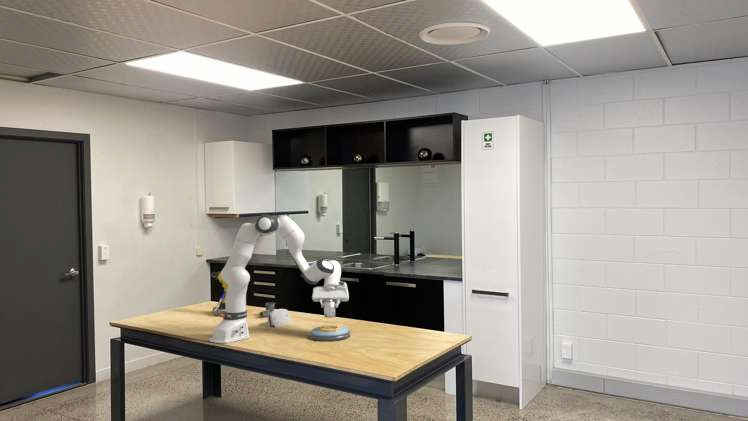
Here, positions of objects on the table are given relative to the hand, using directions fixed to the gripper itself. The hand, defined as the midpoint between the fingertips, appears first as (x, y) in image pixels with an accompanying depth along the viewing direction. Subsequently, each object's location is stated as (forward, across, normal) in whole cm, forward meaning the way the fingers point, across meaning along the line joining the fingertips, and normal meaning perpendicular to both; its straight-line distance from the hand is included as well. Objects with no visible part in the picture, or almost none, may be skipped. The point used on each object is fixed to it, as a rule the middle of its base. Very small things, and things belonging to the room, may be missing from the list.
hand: (329, 307), depth 299 cm
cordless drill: (-33, -81, +56) cm, 104 cm away
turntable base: (+11, 0, +12) cm, 16 cm away
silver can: (+3, 0, +4) cm, 5 cm away
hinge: (-10, -36, +34) cm, 50 cm away
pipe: (-26, -49, +49) cm, 74 cm away
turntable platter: (+10, 0, +10) cm, 14 cm away
